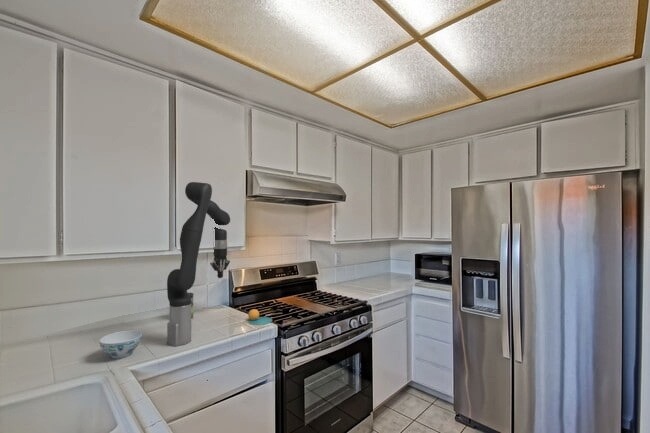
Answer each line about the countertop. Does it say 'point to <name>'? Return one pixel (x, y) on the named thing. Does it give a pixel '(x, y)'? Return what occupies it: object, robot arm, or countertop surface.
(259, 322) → the disc
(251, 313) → the ball
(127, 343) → the chinaware
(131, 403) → the countertop surface
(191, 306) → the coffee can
